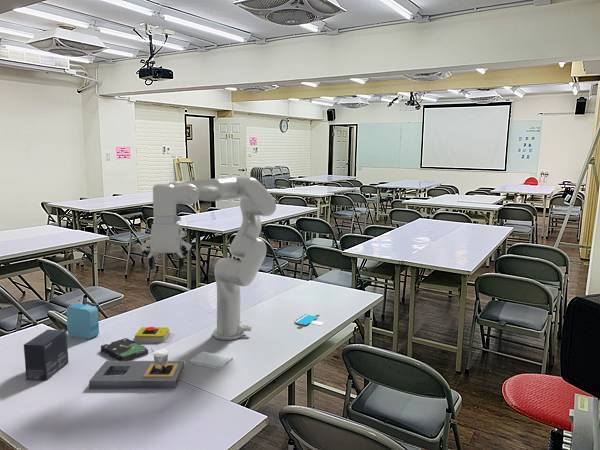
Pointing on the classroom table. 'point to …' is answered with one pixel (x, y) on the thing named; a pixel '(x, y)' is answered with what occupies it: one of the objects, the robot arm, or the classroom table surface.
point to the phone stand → (308, 320)
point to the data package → (82, 321)
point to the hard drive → (211, 360)
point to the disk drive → (124, 350)
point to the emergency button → (153, 335)
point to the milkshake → (161, 361)
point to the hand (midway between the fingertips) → (166, 268)
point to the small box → (46, 354)
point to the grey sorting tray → (136, 375)
